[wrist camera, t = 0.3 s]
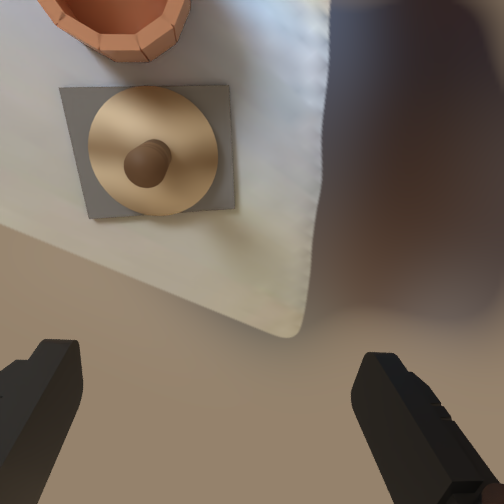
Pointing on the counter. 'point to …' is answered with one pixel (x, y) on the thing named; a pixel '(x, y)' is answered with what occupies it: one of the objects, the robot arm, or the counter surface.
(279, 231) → the counter surface
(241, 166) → the counter surface
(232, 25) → the counter surface
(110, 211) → the mat
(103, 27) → the bowl
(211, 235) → the counter surface
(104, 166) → the lid
